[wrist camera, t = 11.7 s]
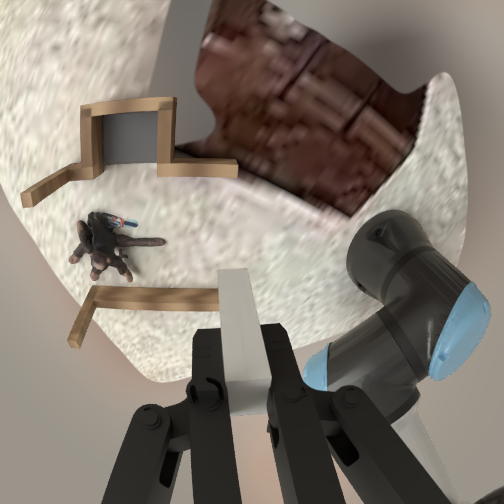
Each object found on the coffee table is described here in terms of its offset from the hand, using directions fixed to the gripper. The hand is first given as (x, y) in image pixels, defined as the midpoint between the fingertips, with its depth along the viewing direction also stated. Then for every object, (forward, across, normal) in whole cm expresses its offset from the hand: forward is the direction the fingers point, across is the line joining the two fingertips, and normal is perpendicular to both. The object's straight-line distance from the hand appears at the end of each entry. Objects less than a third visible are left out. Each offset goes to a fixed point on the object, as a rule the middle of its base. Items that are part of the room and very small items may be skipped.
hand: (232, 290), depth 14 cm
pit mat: (+22, +11, -6) cm, 25 cm away
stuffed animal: (+23, +16, +8) cm, 29 cm away
